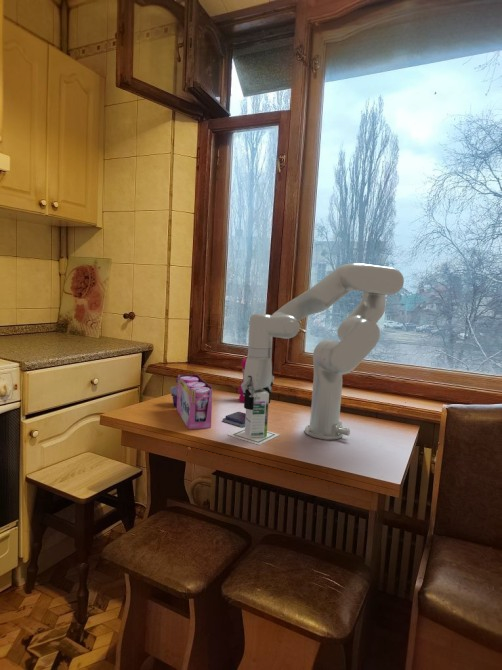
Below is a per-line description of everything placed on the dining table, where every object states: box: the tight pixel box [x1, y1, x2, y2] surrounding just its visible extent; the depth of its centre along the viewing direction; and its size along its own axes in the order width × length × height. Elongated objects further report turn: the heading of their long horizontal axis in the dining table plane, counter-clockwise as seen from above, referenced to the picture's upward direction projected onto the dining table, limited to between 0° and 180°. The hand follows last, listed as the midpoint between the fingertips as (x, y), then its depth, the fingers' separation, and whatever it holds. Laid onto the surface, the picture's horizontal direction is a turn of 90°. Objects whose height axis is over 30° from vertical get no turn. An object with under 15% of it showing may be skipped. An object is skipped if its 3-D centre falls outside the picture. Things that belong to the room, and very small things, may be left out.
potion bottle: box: [170, 377, 178, 408], centre depth 159 cm, size 9×9×12 cm
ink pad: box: [222, 411, 246, 428], centre depth 144 cm, size 9×9×2 cm
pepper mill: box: [238, 354, 248, 404], centre depth 171 cm, size 7×7×20 cm
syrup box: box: [244, 389, 270, 438], centre depth 131 cm, size 6×6×14 cm
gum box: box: [176, 374, 213, 430], centre depth 143 cm, size 24×8×14 cm, turn 21°
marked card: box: [228, 427, 280, 446], centre depth 131 cm, size 12×12×1 cm
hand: (257, 405), depth 130 cm, fingers open, 9 cm apart
